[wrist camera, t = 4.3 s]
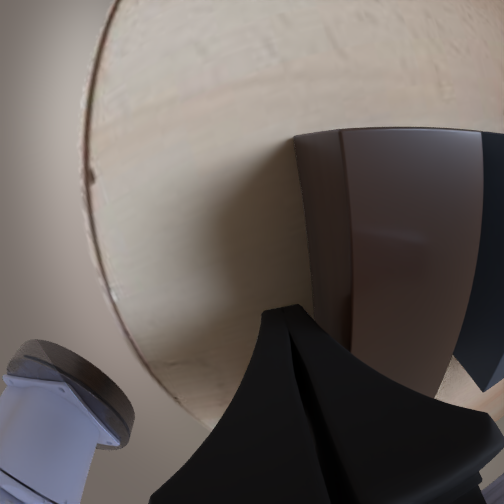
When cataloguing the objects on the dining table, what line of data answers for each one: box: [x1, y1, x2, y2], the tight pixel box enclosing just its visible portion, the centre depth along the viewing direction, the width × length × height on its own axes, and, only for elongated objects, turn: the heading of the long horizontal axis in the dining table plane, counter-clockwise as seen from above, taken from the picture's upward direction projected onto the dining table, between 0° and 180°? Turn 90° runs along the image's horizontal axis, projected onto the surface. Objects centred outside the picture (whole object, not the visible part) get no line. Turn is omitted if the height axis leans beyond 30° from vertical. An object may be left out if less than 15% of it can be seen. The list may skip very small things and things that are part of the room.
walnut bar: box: [293, 127, 484, 398], centre depth 8 cm, size 4×12×4 cm, turn 10°
